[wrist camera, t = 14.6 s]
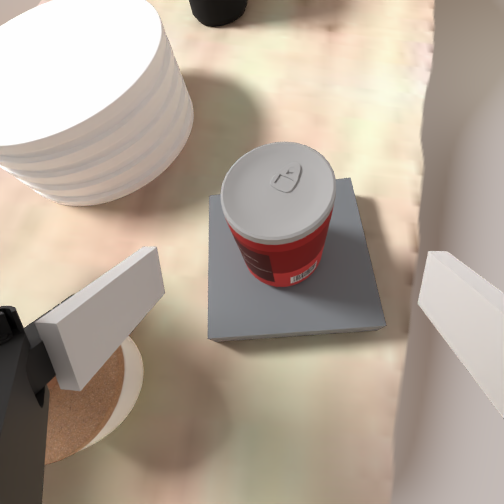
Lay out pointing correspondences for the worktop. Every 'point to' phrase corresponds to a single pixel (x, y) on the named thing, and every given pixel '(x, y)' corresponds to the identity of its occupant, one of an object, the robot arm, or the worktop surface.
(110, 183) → the plate stack
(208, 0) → the coffee jar
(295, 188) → the canned food
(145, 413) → the worktop surface
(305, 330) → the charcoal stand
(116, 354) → the lidded jar
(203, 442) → the worktop surface
